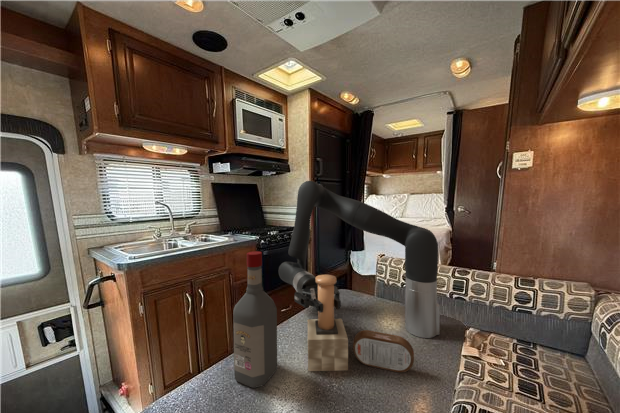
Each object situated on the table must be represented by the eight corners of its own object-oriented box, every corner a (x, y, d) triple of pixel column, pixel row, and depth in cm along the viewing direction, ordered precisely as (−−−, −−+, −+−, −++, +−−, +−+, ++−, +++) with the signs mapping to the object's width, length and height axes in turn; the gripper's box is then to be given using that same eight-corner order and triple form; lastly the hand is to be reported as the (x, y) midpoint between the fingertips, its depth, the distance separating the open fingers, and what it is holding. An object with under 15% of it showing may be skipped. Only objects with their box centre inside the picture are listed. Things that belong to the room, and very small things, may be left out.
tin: (413, 369, 59) (413, 336, 59) (414, 378, 56) (414, 343, 56) (353, 356, 64) (353, 326, 64) (351, 364, 61) (351, 332, 61)
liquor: (259, 392, 52) (257, 259, 51) (228, 379, 56) (226, 255, 55) (281, 366, 61) (280, 250, 60) (253, 356, 64) (251, 247, 64)
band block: (341, 345, 69) (341, 316, 69) (348, 370, 59) (347, 335, 59) (307, 346, 69) (307, 316, 68) (308, 371, 59) (307, 336, 58)
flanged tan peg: (335, 347, 67) (334, 274, 66) (338, 361, 61) (337, 281, 60) (315, 348, 67) (315, 274, 66) (316, 361, 61) (316, 281, 60)
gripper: (285, 276, 74) (304, 297, 58) (326, 271, 79) (354, 288, 63) (286, 300, 74) (305, 327, 58) (327, 293, 79) (354, 316, 63)
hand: (330, 307), depth 61 cm, fingers closed on flanged tan peg, 4 cm apart
